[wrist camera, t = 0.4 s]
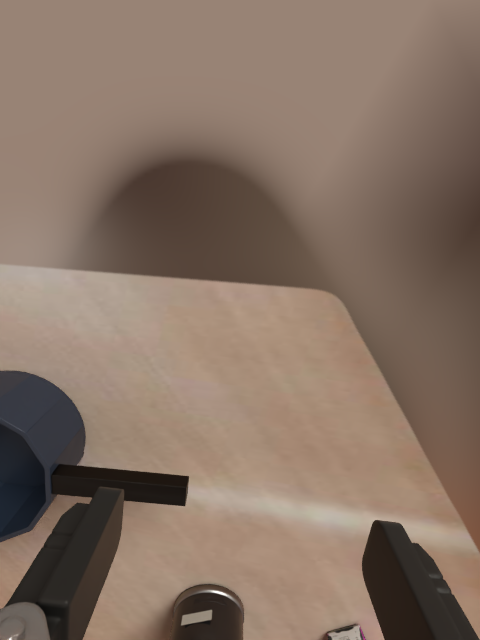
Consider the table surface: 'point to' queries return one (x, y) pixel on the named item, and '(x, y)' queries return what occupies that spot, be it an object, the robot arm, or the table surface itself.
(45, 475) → the pan
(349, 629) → the candy bar box
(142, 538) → the table surface
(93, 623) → the table surface
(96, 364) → the table surface
